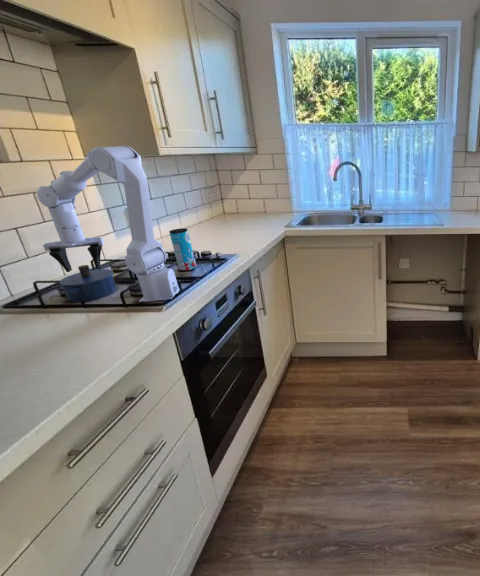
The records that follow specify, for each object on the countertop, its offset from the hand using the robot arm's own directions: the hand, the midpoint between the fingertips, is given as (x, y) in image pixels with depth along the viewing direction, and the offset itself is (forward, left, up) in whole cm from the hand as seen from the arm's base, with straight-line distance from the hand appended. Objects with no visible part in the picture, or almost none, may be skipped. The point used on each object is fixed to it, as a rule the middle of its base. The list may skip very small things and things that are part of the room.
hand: (84, 269), depth 113 cm
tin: (0, 0, -8) cm, 8 cm away
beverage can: (-24, -17, -9) cm, 31 cm away
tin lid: (0, 0, -3) cm, 3 cm away
